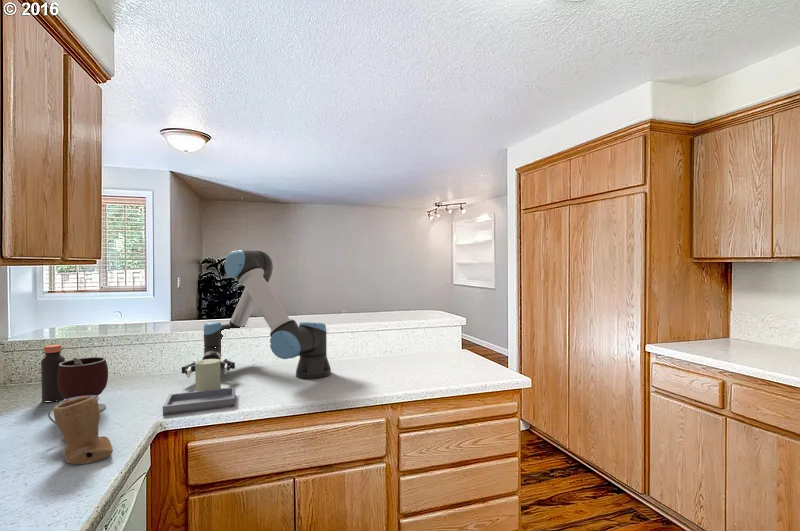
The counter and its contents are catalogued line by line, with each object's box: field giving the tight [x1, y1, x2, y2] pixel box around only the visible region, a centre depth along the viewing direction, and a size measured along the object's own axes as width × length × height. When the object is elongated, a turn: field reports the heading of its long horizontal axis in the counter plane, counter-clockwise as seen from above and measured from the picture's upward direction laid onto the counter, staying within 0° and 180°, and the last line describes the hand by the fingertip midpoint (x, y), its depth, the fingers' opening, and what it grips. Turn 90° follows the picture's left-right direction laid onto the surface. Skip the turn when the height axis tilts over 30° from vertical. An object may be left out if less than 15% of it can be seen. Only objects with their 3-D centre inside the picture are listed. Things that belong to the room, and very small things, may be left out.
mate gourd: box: [57, 356, 109, 413], centre depth 145 cm, size 16×14×20 cm
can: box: [194, 359, 222, 391], centre depth 167 cm, size 9×9×12 cm
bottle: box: [40, 344, 66, 402], centre depth 158 cm, size 7×7×20 cm
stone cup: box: [53, 396, 114, 465], centre depth 112 cm, size 15×12×15 cm
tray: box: [162, 386, 236, 416], centre depth 151 cm, size 22×14×3 cm, turn 110°
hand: (207, 372), depth 170 cm, fingers open, 13 cm apart
